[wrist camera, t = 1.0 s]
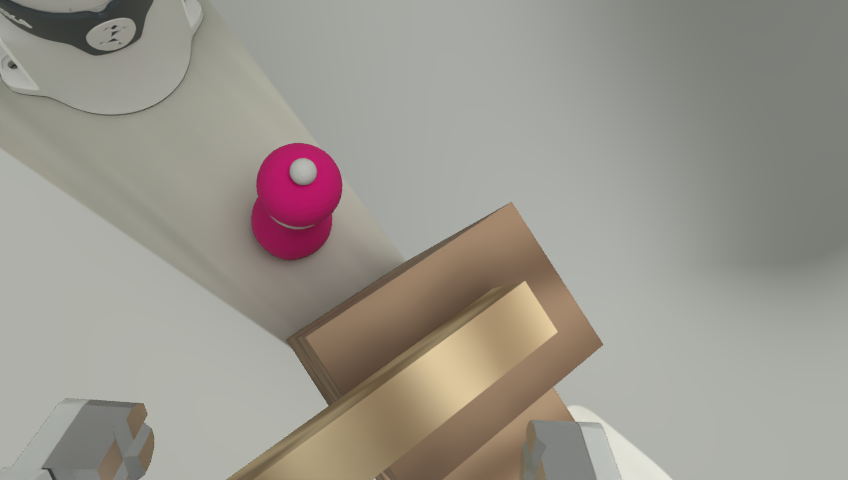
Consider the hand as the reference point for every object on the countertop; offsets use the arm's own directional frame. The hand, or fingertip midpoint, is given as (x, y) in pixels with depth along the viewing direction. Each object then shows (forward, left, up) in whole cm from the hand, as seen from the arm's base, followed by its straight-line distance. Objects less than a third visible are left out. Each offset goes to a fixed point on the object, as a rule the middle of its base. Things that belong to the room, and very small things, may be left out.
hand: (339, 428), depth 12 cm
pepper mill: (-10, +7, -42) cm, 44 cm away
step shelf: (+10, +8, -42) cm, 44 cm away
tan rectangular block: (+4, +2, -16) cm, 16 cm away
